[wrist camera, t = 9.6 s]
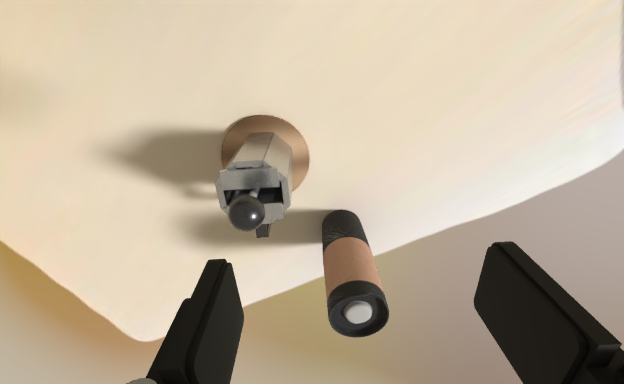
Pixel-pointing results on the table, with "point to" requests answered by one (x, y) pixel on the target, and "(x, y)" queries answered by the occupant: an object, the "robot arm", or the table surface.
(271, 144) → the grey slotted housing
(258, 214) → the plunger
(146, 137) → the table surface
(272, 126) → the disc
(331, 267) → the travel mug
